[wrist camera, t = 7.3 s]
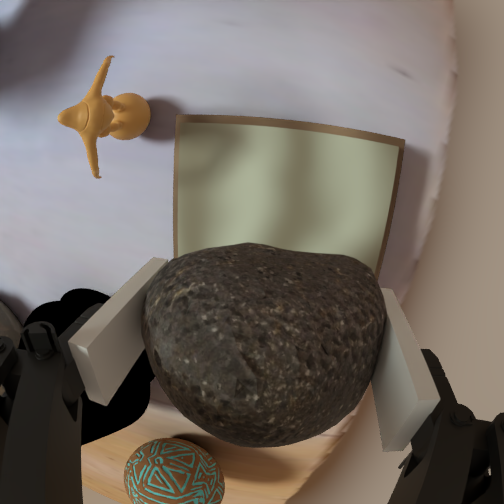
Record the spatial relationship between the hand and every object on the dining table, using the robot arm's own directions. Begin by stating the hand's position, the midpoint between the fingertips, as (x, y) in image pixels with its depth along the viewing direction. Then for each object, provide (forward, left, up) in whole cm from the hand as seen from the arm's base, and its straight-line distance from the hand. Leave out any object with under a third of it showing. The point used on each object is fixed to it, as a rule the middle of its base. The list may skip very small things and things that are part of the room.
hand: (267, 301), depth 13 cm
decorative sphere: (-10, -38, -13) cm, 41 cm away
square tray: (0, 0, -13) cm, 13 cm away
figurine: (-12, +8, -13) cm, 19 cm away
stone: (0, -1, -1) cm, 1 cm away
